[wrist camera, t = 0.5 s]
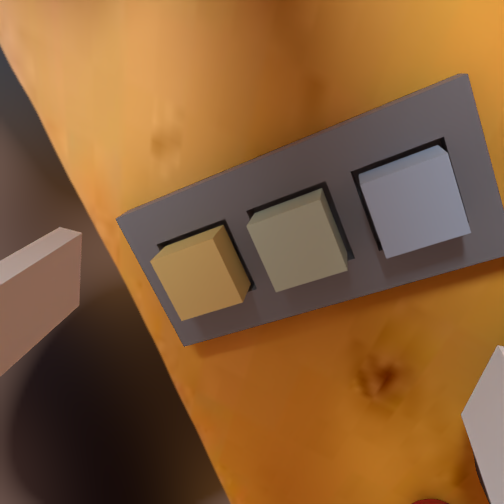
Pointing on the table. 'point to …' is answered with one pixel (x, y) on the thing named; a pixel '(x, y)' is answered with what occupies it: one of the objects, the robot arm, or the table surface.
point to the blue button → (414, 201)
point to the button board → (331, 208)
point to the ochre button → (202, 273)
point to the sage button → (298, 241)
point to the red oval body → (430, 501)
